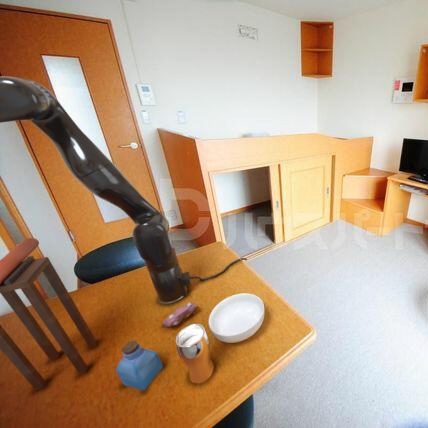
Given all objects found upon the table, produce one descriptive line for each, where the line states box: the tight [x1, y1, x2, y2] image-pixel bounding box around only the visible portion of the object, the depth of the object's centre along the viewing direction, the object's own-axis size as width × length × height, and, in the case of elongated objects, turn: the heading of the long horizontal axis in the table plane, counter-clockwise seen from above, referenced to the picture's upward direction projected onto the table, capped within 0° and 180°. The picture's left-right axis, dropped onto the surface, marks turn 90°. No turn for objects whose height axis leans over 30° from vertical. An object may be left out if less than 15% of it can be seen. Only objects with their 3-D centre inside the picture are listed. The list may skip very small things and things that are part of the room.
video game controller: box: [162, 302, 198, 328], centre depth 80 cm, size 10×5×7 cm, turn 148°
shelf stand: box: [0, 255, 98, 391], centre depth 60 cm, size 10×10×33 cm
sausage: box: [0, 237, 40, 284], centre depth 54 cm, size 21×3×3 cm, turn 27°
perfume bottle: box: [115, 340, 164, 391], centre depth 62 cm, size 6×6×12 cm
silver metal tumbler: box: [175, 323, 215, 384], centre depth 62 cm, size 7×7×15 cm
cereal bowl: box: [208, 292, 265, 344], centre depth 77 cm, size 17×17×7 cm
